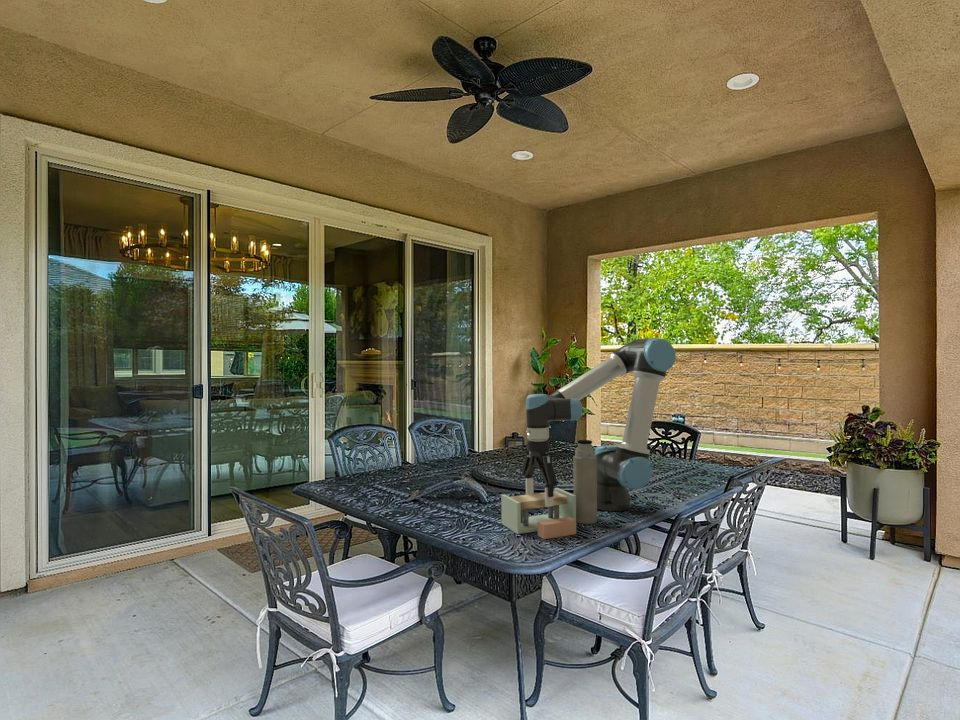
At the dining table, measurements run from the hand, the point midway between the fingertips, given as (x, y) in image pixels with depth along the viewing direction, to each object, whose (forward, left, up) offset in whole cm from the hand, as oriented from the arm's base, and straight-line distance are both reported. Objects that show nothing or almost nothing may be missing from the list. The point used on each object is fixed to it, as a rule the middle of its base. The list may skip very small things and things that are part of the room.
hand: (539, 501), depth 186 cm
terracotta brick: (0, +12, -8) cm, 14 cm away
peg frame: (0, 0, -8) cm, 8 cm away
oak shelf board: (0, 0, -1) cm, 1 cm away
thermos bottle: (-17, +3, -8) cm, 19 cm away
